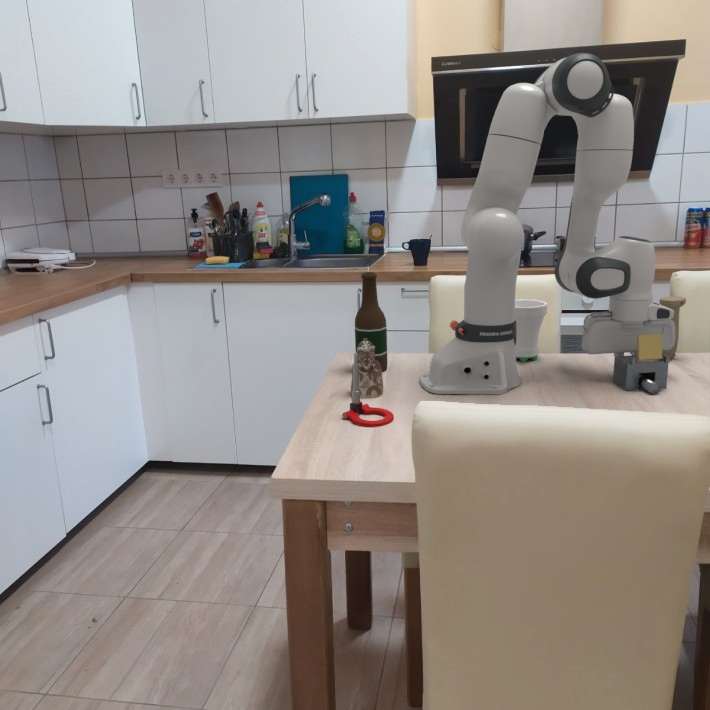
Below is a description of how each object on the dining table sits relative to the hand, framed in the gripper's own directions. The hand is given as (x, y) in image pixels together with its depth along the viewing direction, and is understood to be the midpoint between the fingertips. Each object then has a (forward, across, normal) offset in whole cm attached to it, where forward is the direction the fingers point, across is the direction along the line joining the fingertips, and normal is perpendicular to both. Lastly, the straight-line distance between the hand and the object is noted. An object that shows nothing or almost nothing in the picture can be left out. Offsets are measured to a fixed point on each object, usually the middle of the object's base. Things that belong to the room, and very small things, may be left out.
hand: (625, 370), depth 152 cm
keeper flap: (-8, 0, -10) cm, 12 cm away
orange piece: (+2, 0, -7) cm, 7 cm away
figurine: (+2, -59, 0) cm, 59 cm away
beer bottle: (+2, -56, +18) cm, 59 cm away
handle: (+2, +17, +13) cm, 21 cm away
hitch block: (+2, 0, -6) cm, 6 cm away
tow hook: (+2, -60, -16) cm, 62 cm away
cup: (+2, -17, +21) cm, 27 cm away
